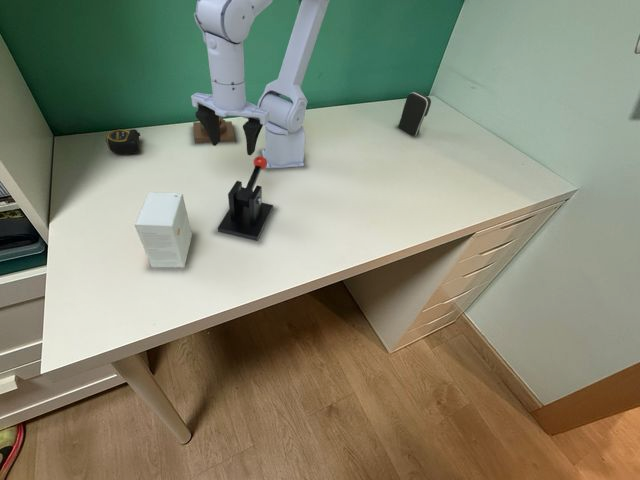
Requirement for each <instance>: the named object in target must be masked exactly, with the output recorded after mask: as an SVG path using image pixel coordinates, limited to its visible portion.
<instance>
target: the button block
mask: <svg viewBox="0 0 640 480" xmlns="http://www.w3.org/2000/svg"><path fill="white" fill-rule="evenodd" d="M192 124H193V125H192V126H193V139H194V144H195V145H197V144H198V145H199V144H210V143H211V144H212V142H211V140H210V138H209V136H208V133H207V132H206V130H205V128H204V126H203V125H202V124H201V122H200V121H194V122H193V123H192ZM219 128H220V142H219V143H236V136H235V130H234V126H233V121H231V120H230V121H227V120H225V119H223V117H220V126H219Z"/></svg>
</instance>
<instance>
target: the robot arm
mask: <svg viewBox="0 0 640 480" xmlns="http://www.w3.org/2000/svg"><path fill="white" fill-rule="evenodd" d="M273 1H274V0H197V1H196V6H195V12H194V13H193V18H194V21H195V24H196V25H197V27H198V28H199V30H200V32H201V33H202V39H203V43H205V44H204V45H206V51H207V59H208V60H207V61H208V66H209V75H210V85H211V92H212V93H203V92H202V93H201V92H195V93H193V94H192V95H191V96H190V98H191V104H192V105H191V106H192V107H194V108H197V111H195V113H194V115H195V118H196V119H197V121H198V122H201V124H202V125H203V126H204V128H205V130H206V132H207V133H208V136H209V138H210V140H211V142H212V143H211V145H212V146H214V147H216V146H217V145H218V144H220V143H221V142H220V128H219V117H221V118H225V117H227V116H232V117H240V118H244V119H247V121H246V122H245V123H244V124H243V125H242V129H243V132H244V136H245V142H246V154H247V156H250V157H251V156H252V155H253V154H254V153H255V151H256V147H257V141H258V138H259V136H260V133H261V130H262V129H263V127H264V148H265V149H264V148H263V149H261V156H263V157H264V158H265V159H266V160H267V166H266V168H265V169H268V170H269V169H283V168H285V169H286V168H299V167H300V168H301V167H304V166H305V163H304V159H305V150H306V131H305V128H304V126H303V125H304V122H305V118H306V110H307V105H308V99H307V98H306V96H305V94H304V92H303V90H302V85H303V80H305V76H306V72H307V69H308V66H309V64H310V61H311V57H312V54H313V51H314V49H315V46H316V42H317V39H318V36H319V34H320V30H321V27H322V24H323V21H324V19H325V16H326V12H327V9H328V7H329V3H330V0H301V2H300V4H299V8H298V12H297V15H296V18H295V21H294V24H293V28H292V32H291V35H290V38H289V41H288V45H287V48H286V51H285V54H284V57H283V60H282V64H281V67H280V71H279V74H278V77H277V79H274V80H273V81H270V82H268V83H267V84H266V85H265V88H264V90H263V93H262V94H261V96H260V97H259V99H258V101H257V105H256V104H254V103H251V102H249V101H247V97H246V96H247V95H246V94H247V93H246V75H245V74H246V73H245V53H244V41H245V40H247V38H248V36H249V33H250V30H251V27H252V25H253V24H254V21H255V19H256V17H257V16H259V14H261V13H262V12H263V11H264V10H266V9H267V8H268V7H269V6H270V5H271V4H272V3H273ZM283 96H284V97H283ZM285 97H287V98H289V99H287V98H285Z"/></svg>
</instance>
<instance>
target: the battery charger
mask: <svg viewBox="0 0 640 480" xmlns="http://www.w3.org/2000/svg"><path fill="white" fill-rule="evenodd" d="M405 99H406V100H405V102H404V105H403V109H402V114H401V117H400V120H399V123H398V126H397V128H399V129H400V130H402V131H403V132H404V133H406V134H409V135H410V136H412V137H416V136H418V135H419V133H420V128H421V126H422V124H423V121H424V119H425V117H427V116H428V113H429V110H430V109H431V108H430V107H431V105H432V100H431V97H429V96H427V95H425V94H423V93H422V92H419V91H413V92H410V93H409V94H407V97H406V98H405Z"/></svg>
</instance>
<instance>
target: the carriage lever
mask: <svg viewBox="0 0 640 480" xmlns="http://www.w3.org/2000/svg"><path fill="white" fill-rule="evenodd" d="M252 163H253V167H254V168H253V171H252V174H251V175H250V178H249V180H248V182H247V184H246V187H243V186H242V188H241V190H240V192H239V194H238V197H237V201H238V205H239V206H243V207H247V208H249V198H250V196H251V195H252V193H253V191H254V189H255V187H256V183H257V181H258V178H259V176H260V174H261V171H263V170H265V169H267V168H266V166H267V160H266V159H265V158H264V157H263V155H258V156H256V157H254V159H253V162H252Z"/></svg>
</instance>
